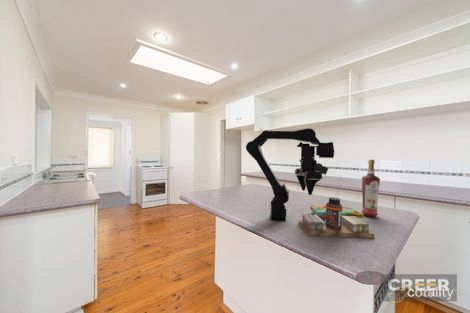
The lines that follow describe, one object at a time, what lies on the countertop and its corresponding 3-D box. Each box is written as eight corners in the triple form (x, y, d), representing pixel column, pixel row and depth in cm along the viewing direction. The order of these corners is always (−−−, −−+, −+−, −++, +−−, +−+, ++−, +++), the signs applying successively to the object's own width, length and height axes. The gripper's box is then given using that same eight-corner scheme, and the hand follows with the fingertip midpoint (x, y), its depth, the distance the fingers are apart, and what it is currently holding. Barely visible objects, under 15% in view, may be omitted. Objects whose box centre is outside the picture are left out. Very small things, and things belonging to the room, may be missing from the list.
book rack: (307, 235, 73) (307, 223, 73) (298, 223, 85) (298, 213, 85) (374, 238, 72) (374, 225, 72) (355, 225, 84) (355, 215, 84)
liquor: (365, 217, 95) (367, 159, 94) (357, 213, 102) (359, 159, 102) (381, 218, 94) (384, 160, 94) (372, 213, 102) (374, 159, 101)
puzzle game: (310, 204, 102) (351, 206, 99) (310, 213, 102) (351, 215, 100) (317, 210, 90) (363, 213, 88) (316, 220, 90) (363, 223, 88)
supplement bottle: (322, 226, 78) (323, 198, 78) (328, 222, 83) (329, 195, 82) (338, 230, 74) (339, 200, 74) (343, 226, 78) (344, 198, 78)
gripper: (336, 158, 78) (334, 198, 78) (318, 157, 96) (317, 189, 97) (307, 157, 78) (306, 197, 78) (295, 156, 97) (294, 188, 97)
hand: (306, 192), depth 88 cm, fingers open, 9 cm apart
